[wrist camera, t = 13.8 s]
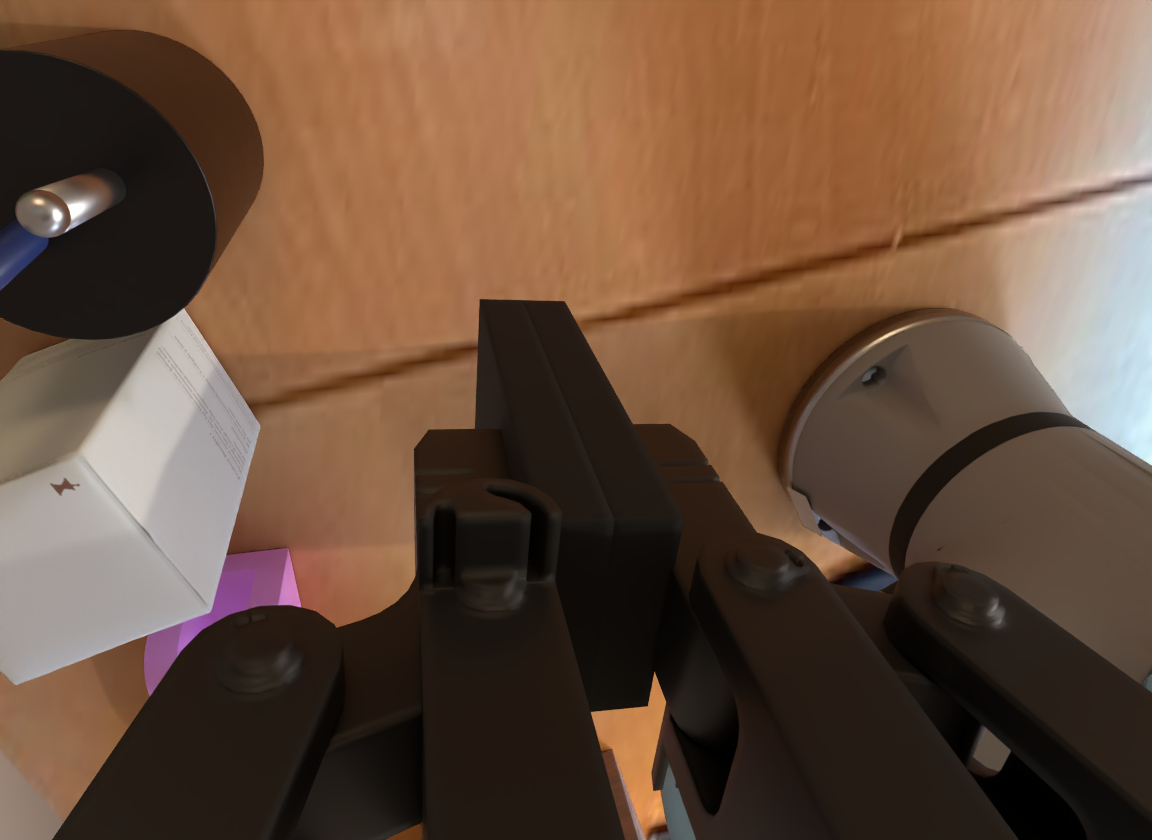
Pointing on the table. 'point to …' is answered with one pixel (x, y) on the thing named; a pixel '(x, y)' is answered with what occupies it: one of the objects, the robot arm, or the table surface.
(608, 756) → the tissue box cover
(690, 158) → the table surface
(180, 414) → the white packaging box
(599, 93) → the table surface
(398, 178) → the table surface
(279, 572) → the bracket
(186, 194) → the pen cup
